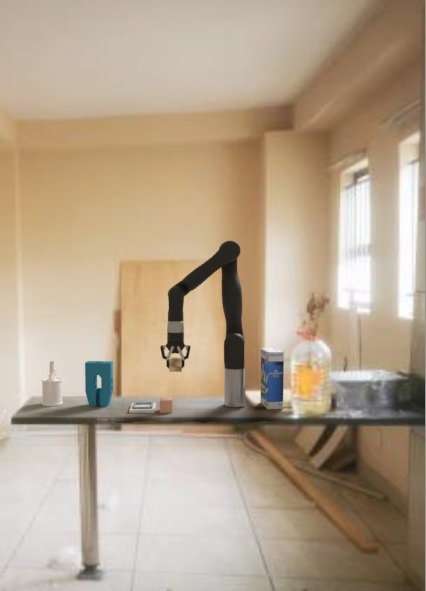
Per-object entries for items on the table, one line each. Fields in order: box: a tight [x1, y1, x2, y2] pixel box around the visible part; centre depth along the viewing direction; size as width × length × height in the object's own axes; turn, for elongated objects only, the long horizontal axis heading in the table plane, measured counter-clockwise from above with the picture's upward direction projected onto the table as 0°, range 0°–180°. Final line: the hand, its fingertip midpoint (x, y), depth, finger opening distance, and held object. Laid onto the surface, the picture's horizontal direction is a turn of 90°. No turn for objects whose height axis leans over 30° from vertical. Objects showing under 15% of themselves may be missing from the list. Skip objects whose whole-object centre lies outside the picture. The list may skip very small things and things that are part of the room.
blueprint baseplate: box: [128, 401, 157, 414], centre depth 233 cm, size 11×13×2 cm
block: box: [84, 360, 114, 408], centre depth 239 cm, size 12×5×20 cm, turn 85°
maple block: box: [168, 356, 183, 373], centre depth 236 cm, size 6×6×6 cm
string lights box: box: [260, 347, 285, 410], centre depth 238 cm, size 13×8×26 cm, turn 10°
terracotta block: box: [159, 396, 174, 414], centre depth 229 cm, size 6×6×6 cm
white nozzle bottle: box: [41, 360, 64, 408], centre depth 241 cm, size 10×9×20 cm
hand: (175, 368), depth 236 cm, fingers closed on maple block, 5 cm apart
